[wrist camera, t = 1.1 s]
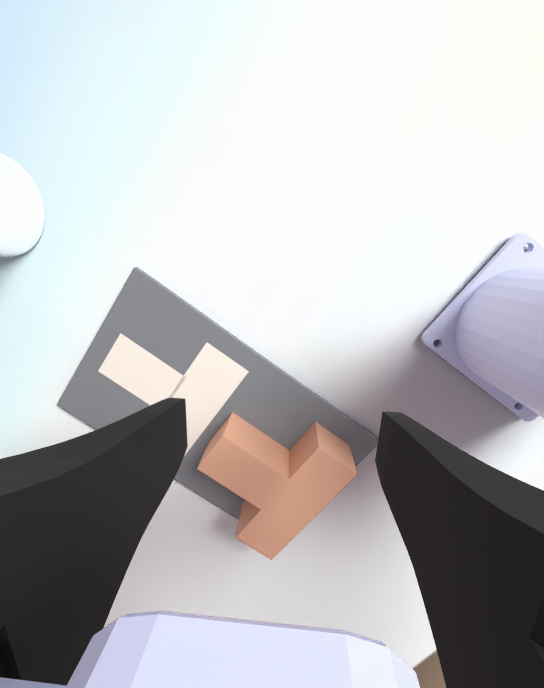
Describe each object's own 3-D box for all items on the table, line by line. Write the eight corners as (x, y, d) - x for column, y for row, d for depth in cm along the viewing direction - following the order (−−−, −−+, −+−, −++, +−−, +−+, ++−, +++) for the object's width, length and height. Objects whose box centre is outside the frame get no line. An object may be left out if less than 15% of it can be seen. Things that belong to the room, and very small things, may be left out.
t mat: (378, 438, 22) (379, 441, 21) (278, 540, 25) (278, 544, 24) (137, 267, 20) (134, 267, 19) (60, 402, 23) (56, 404, 22)
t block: (349, 444, 22) (357, 473, 19) (273, 523, 24) (271, 559, 21) (256, 380, 21) (251, 400, 18) (188, 468, 23) (173, 498, 20)
